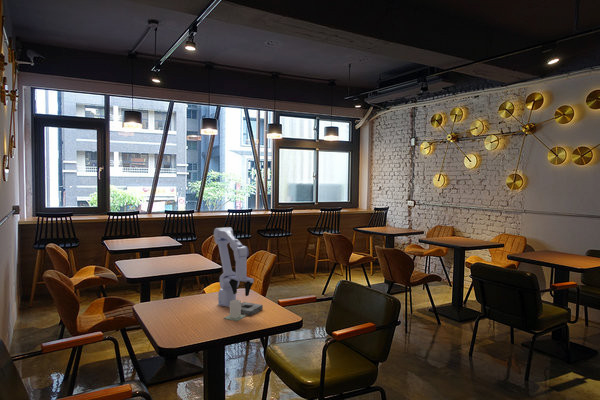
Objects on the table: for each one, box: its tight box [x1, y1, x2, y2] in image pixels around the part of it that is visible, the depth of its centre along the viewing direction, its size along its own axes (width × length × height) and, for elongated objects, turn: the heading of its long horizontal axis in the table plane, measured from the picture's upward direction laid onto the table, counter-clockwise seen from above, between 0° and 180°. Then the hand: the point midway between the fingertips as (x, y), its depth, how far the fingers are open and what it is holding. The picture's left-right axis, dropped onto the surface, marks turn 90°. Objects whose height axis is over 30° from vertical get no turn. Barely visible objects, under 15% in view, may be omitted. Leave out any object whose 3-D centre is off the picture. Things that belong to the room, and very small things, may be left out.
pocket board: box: [241, 301, 264, 317], centre depth 215 cm, size 12×12×2 cm
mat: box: [223, 314, 247, 322], centre depth 204 cm, size 8×8×1 cm
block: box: [229, 299, 242, 318], centre depth 204 cm, size 4×4×8 cm
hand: (241, 294), depth 212 cm, fingers open, 7 cm apart
